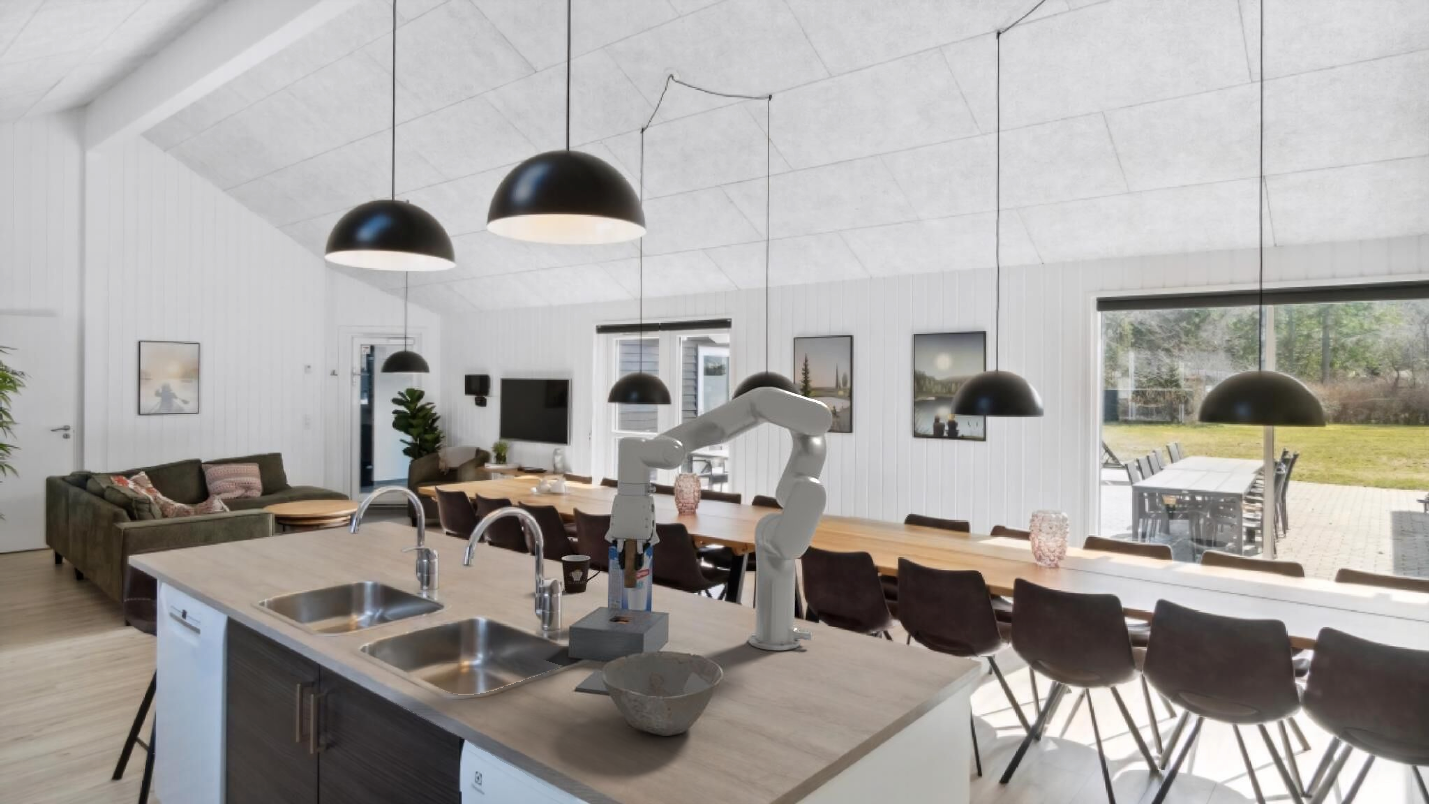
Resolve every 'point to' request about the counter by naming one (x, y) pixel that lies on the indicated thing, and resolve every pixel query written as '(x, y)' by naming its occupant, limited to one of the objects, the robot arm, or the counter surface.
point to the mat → (593, 684)
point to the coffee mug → (577, 572)
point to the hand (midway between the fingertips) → (630, 568)
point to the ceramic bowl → (661, 689)
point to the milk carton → (630, 596)
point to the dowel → (630, 564)
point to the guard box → (617, 633)
